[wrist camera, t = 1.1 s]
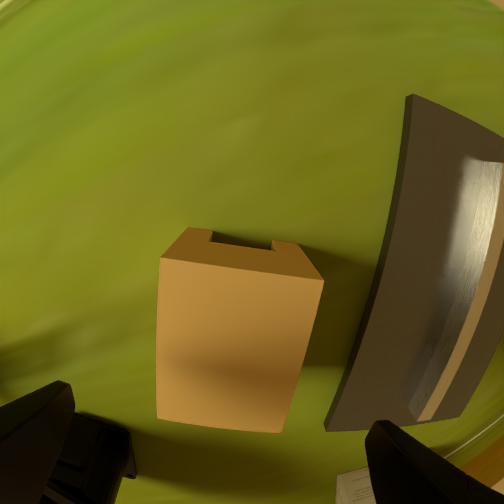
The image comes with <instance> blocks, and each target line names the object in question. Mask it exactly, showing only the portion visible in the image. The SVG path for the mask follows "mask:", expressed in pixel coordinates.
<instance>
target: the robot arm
mask: <svg viewBox="0 0 504 504" xmlns="http://www.w3.org/2000/svg"><path fill="white" fill-rule="evenodd" d="M74 411H75V401H74V397H73V392H72V388H71V385H70V384H68V383H66V382H63V381H59V380H57V381H55V382H53V383H51V384H48V385H46V386H44V387H42V388H40V389H38V390H36V391H34V392H32V393H29V394H27V395H25V396H23V397H21V398H19V399H17V400H14V401H12V402H10V403H8V404H6V405H4V406H1V407H0V504H114V503H115V500H116V497H117V493H118V490H119V487H120V484H121V481H122V478H123V477H126V478H130V479H136V476H137V471H136V466H135V460H134V455H133V448H132V442H131V435H130V432H129V431H127V430H126V429H124V428H120V427H116V426H113V425H109V424H105V423H102V422H98V421H95V420H92V419H89V418H85V417H82V416H79V415H76V414H74ZM365 449H366V455H367V461H368V468H369V475H370V481H371V486H372V490H373V493H374V497H375V501H376V504H504V495H503V494H501V493H499V492H497V491H495V490H492V489H491V488H489V487H487V486H485V485H484V484H482V483H480V482H479V481H477V480H475V479H474V478H472V477H471V476H469V475H466V473H465V472H463V471H462V470H460V469H458V468H457V467H455V466H454V465H452V464H451V463H449V462H448V461H447V460H445V459H444V458H442V457H441V456H439V455H438V454H436V453H435V452H433V451H432V450H430V449H429V448H428V447H426V446H425V445H423V444H422V443H420V442H419V441H417V440H416V439H415V438H413V437H412V436H410V435H409V434H408V433H406V432H405V431H403V430H402V429H401V428H399V427H398V426H396V425H395V424H394V423H392V422H391V421H389V420H377V421H375V422H374V423H373V425H372V427H371V429H370V431H369V433H368V434H367V436H366V439H365Z"/></svg>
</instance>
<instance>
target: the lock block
mask: <svg viewBox="0 0 504 504" xmlns="http://www.w3.org/2000/svg"><path fill="white" fill-rule="evenodd" d="M212 235H213V231H209V230H202V229H195V228H187V229H186V230H185V231H184V232H183V233H182V234H181V235H180V236H179V238H178V239H177V240H176V241H175V242H174V243H173V244H172V245H171V246H170V247H169V248H168V250H167V251H166V252H165V253H164V254H163V255H162V256H161V257H160V271H159V287H158V307H157V337H156V398H157V418H159V419H164V420H169V421H175V422H181V423H187V424H193V425H200V426H207V427H215V428H223V429H232V430H243V431H256V432H272V433H281V431H282V428H283V425H284V422H285V419H286V416H287V413H288V410H289V407H290V404H291V400H292V397H293V394H294V391H295V388H296V384H297V381H298V378H299V374H300V371H301V368H302V364H303V361H304V357H305V354H306V350H307V347H308V343H309V339H310V336H311V332H312V328H313V324H314V321H315V317H316V313H317V309H318V305H319V301H320V297H321V293H322V289H323V285H324V279H323V278H322V277H321V275H320V274H319V272H318V271H317V270H316V268H315V267H314V266H313V264H312V263H311V261H310V260H309V259H308V257H307V256H306V255H305V253H304V252H303V251H302V249H301V248H300V247H299V245H298V244H297V243H290V242H283V241H277V240H272V245H271V250H264V249H257V248H250V247H244V246H237V245H230V244H223V243H216V242H212Z"/></svg>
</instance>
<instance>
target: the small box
mask: <svg viewBox="0 0 504 504" xmlns="http://www.w3.org/2000/svg"><path fill="white" fill-rule="evenodd" d="M336 504H376V501H375V497H374V493H373V490H372V486H371V481H370V475H369V468H368V467H365V468H361V469H358V470H354V471H351V472H347V473H343V474H339V475H337V489H336Z"/></svg>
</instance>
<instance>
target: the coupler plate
mask: <svg viewBox="0 0 504 504" xmlns="http://www.w3.org/2000/svg"><path fill="white" fill-rule="evenodd" d="M503 330H504V138H503V137H501V136H499V135H497V134H496V133H494V132H492V131H490V130H489V129H487V128H485V127H483V126H481V125H480V124H478V123H476V122H474V121H472V120H470V119H468V118H466V117H464V116H462V115H460V114H458V113H456V112H454V111H452V110H450V109H447V108H445V107H443V106H441V105H439V104H436V103H434V102H432V101H430V100H427V99H425V98H422V97H420V96H418V95H415V94H412V95H409V96H406V101H405V112H404V122H403V130H402V139H401V146H400V153H399V160H398V167H397V173H396V179H395V185H394V191H393V196H392V201H391V207H390V212H389V217H388V221H387V226H386V231H385V235H384V240H383V244H382V248H381V252H380V256H379V260H378V264H377V268H376V272H375V276H374V280H373V283H372V287H371V291H370V294H369V298H368V301H367V305H366V308H365V311H364V314H363V318H362V321H361V324H360V327H359V330H358V334H357V337H356V340H355V343H354V346H353V348H352V351H351V354H350V357H349V360H348V363H347V366H346V368H345V371H344V374H343V376H342V379H341V382H340V384H339V387H338V390H337V392H336V395H335V397H334V400H333V402H332V405H331V407H330V409H329V412H328V414H327V417H326V419H325V421H324V427H325V430H326V432H334V431H357V430H370V429H371V427H372V425H373V423H374V422H375V421H377V420H389V421H391V422H392V423H394V424H395V425H396V426H398V427H401V426H409V425H416V424H423V423H429V422H435V421H441V420H446V419H452V418H456V417H460V415H461V414H462V412H463V410H464V409H465V407H466V405H467V404H468V402H469V400H470V398H471V397H472V395H473V393H474V391H475V389H476V388H477V386H478V384H479V382H480V380H481V378H482V376H483V374H484V372H485V370H486V368H487V366H488V364H489V362H490V360H491V358H492V356H493V354H494V351H495V349H496V347H497V345H498V342H499V340H500V338H501V335H502V333H503Z"/></svg>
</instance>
